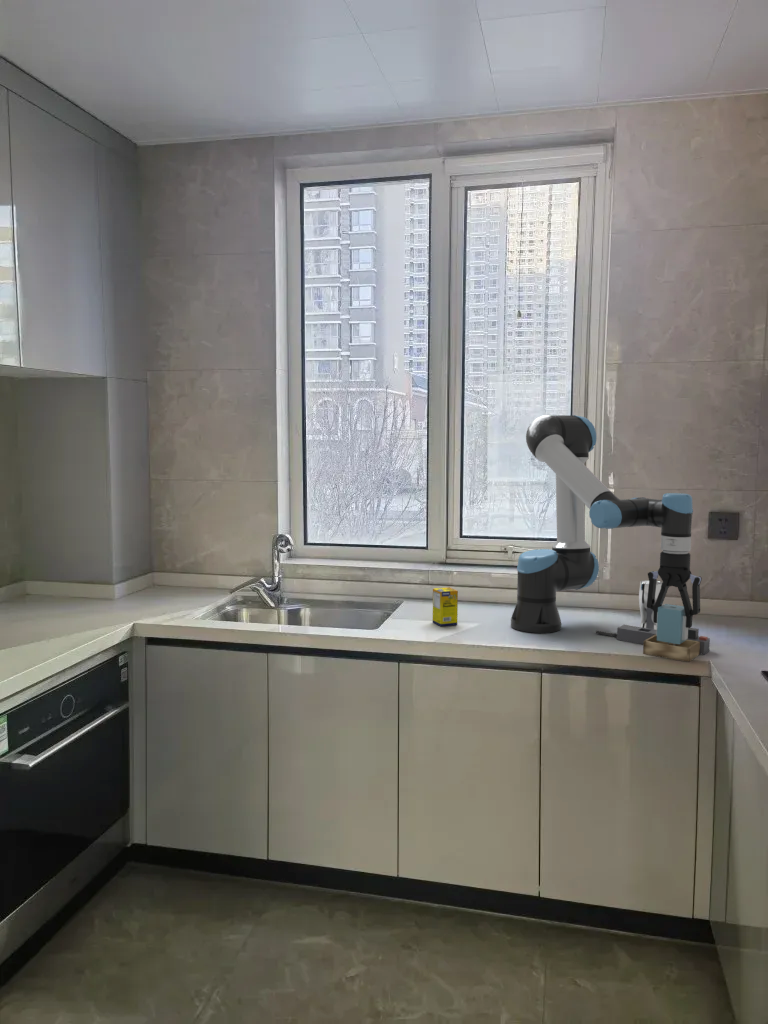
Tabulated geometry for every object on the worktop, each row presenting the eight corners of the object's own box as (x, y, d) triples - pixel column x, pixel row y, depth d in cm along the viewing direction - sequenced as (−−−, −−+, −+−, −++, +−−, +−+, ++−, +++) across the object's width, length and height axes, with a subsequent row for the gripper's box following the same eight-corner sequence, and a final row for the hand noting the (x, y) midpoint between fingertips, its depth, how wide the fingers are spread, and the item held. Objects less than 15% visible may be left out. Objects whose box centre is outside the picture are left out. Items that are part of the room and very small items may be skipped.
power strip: (592, 635, 225) (592, 615, 224) (598, 632, 228) (599, 612, 228) (703, 654, 205) (704, 633, 205) (709, 650, 209) (710, 629, 208)
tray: (643, 653, 206) (643, 641, 205) (654, 646, 213) (655, 634, 212) (689, 662, 198) (689, 648, 198) (699, 654, 205) (700, 641, 205)
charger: (656, 650, 205) (658, 607, 204) (663, 645, 210) (665, 603, 208) (679, 654, 201) (681, 610, 200) (686, 649, 206) (688, 606, 205)
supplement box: (457, 625, 237) (458, 590, 235) (440, 626, 234) (440, 591, 233) (449, 620, 242) (449, 586, 241) (432, 622, 240) (432, 588, 239)
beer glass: (632, 629, 232) (634, 580, 230) (651, 627, 234) (653, 579, 233) (648, 635, 225) (650, 585, 224) (667, 633, 228) (669, 583, 226)
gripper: (634, 549, 206) (631, 634, 208) (708, 556, 194) (704, 646, 196) (644, 546, 212) (641, 628, 214) (717, 553, 200) (713, 640, 202)
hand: (671, 636), depth 205 cm, fingers closed on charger, 6 cm apart
